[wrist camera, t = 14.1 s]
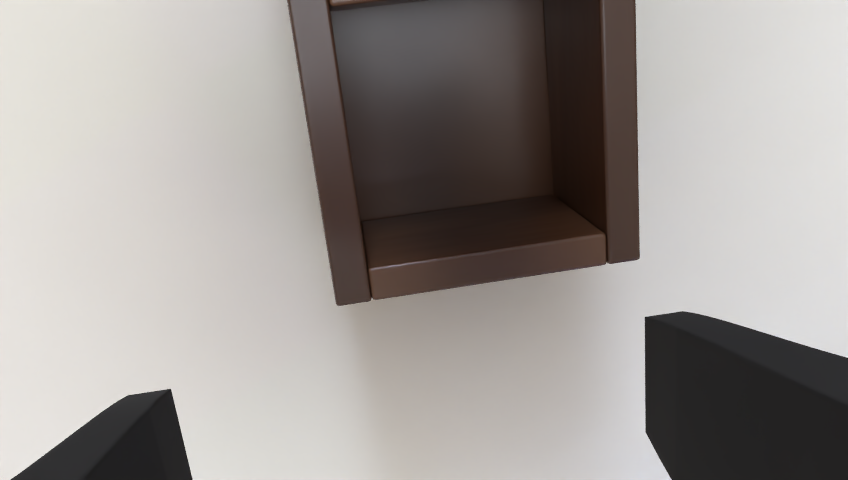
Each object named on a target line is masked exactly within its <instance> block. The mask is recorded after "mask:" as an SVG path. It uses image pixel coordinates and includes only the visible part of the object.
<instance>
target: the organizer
mask: <svg viewBox="0 0 848 480" xmlns="http://www.w3.org/2000/svg"><path fill="white" fill-rule="evenodd" d="M287 2H288V8H289V15H290V21H291V27H292V33H293V39H294V46H295V52H296V58H297V64H298V70H299V77H300V83H301V89H302V95H303V101H304V108H305V114H306V120H307V126H308V132H309V139H310V145H311V151H312V157H313V163H314V170H315V176H316V182H317V188H318V194H319V201H320V207H321V213H322V219H323V225H324V232H325V238H326V244H327V250H328V256H329V263H330V269H331V275H332V281H333V287H334V294H335V300H336V304H337V305H338V306H342V305H348V304H355V303H361V302H368V301H371V298H373V299H374V300H378V299H385V298H391V297H398V296H404V295H411V294H417V293H424V292H430V291H437V290H443V289H450V288H456V287H463V286H470V285H476V284H483V283H489V282H496V281H502V280H509V279H515V278H522V277H528V276H535V275H541V274H548V273H554V272H561V271H567V270H574V269H580V268H587V267H593V266H600V265H605V264H606V262H607V263H609V264H613V263H620V262H626V261H633V260H638V259H639V257H640V250H639V189H638V128H637V67H636V6H635V0H287Z"/></svg>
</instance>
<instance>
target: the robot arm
mask: <svg viewBox="0 0 848 480" xmlns="http://www.w3.org/2000/svg"><path fill="white" fill-rule="evenodd" d="M645 402H646V434H647V435H648V437H649V439H650V441H651V443H652V445H653V447H654V449H655V451H656V452H657V454H658V456H659V458H660V460H661V462H662V463H663V465H664V467H665V469H666V470H667V472H668V474H669V476H670V477H671V479H672V480H848V358H846V357H842V356H839V355H835V354H832V353H828V352H825V351H821V350H818V349H815V348H811V347H808V346H805V345H801V344H798V343H795V342H792V341H788V340H785V339H782V338H779V337H775V336H772V335H769V334H766V333H763V332H759V331H756V330H753V329H750V328H746V327H743V326H740V325H737V324H733V323H730V322H727V321H723V320H719V319H716V318H712V317H708V316H704V315H700V314H695V313H690V312H683V311H682V312H676V313H669V314H662V315H656V316H649V317H645ZM11 480H192V476H191V472H190V467H189V463H188V459H187V455H186V451H185V446H184V442H183V438H182V434H181V429H180V425H179V421H178V417H177V413H176V408H175V404H174V400H173V396H172V392H171V389H167V390H161V391H154V392H147V393H141V394H134V395H128V396H126V397H124V398H123V399H121V400H119V401H117V402H116V403H114V404H113V405H111V406H110V407H108V408H107V409H106V410H104V411H103V412H101V413H100V414H99V415H97V416H96V417H94V418H93V419H92V420H90V421H89V422H88V423H86V424H85V425H84V426H82V427H81V428H80V429H78V430H77V431H76V432H74V433H73V434H72V435H70V436H69V437H68V438H66V439H65V440H64V441H62V442H61V443H60V444H58V445H57V446H56V447H54V448H53V449H52V450H50V451H49V452H48V453H46V454H45V455H44V456H42V457H41V458H40V459H38V460H37V461H36V462H34V463H33V464H32V465H30V466H29V467H28V468H26V469H25V470H24V471H22V472H21V473H20V474H18V475H17V476H15V477H14V478H12V479H11Z"/></svg>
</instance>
